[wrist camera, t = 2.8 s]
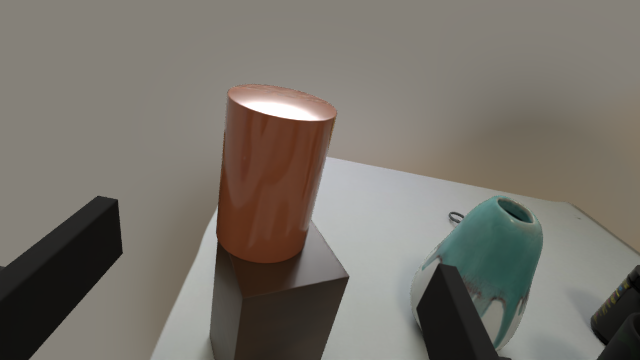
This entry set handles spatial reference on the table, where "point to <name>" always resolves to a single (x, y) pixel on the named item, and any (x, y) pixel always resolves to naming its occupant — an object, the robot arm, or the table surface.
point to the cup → (624, 341)
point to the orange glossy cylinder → (271, 170)
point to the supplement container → (618, 307)
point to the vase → (490, 263)
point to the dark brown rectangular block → (276, 304)
